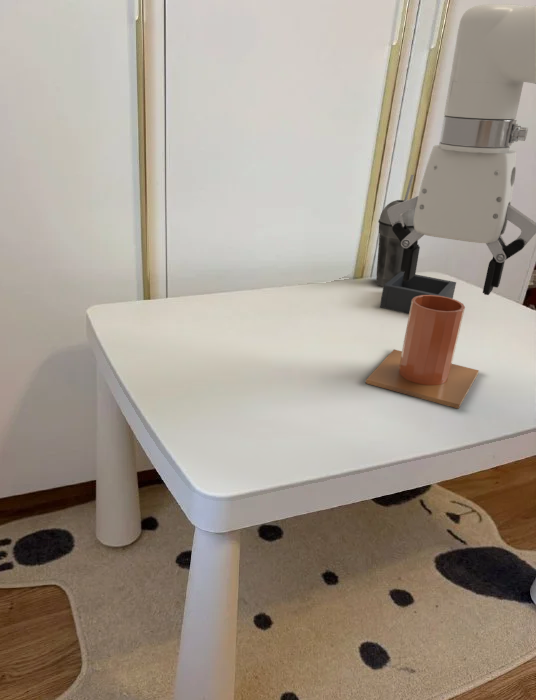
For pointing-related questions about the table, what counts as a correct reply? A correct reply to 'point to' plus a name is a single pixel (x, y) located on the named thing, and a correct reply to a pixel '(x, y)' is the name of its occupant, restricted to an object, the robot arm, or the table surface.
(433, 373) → the tumbler
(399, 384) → the cork mat
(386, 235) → the beverage cup
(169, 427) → the table surface
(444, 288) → the cup holder
